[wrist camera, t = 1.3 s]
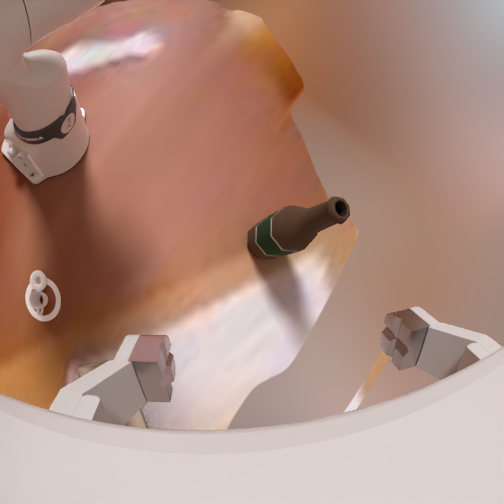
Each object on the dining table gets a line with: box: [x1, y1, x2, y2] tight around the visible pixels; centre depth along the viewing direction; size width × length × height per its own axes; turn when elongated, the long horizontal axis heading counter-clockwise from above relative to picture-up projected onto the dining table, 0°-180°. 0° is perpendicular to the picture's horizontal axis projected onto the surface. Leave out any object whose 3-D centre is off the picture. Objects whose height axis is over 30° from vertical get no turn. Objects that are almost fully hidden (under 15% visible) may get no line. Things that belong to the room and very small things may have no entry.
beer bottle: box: [247, 197, 350, 259], centre depth 44 cm, size 8×8×24 cm
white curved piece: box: [25, 270, 61, 321], centre depth 35 cm, size 9×8×4 cm
